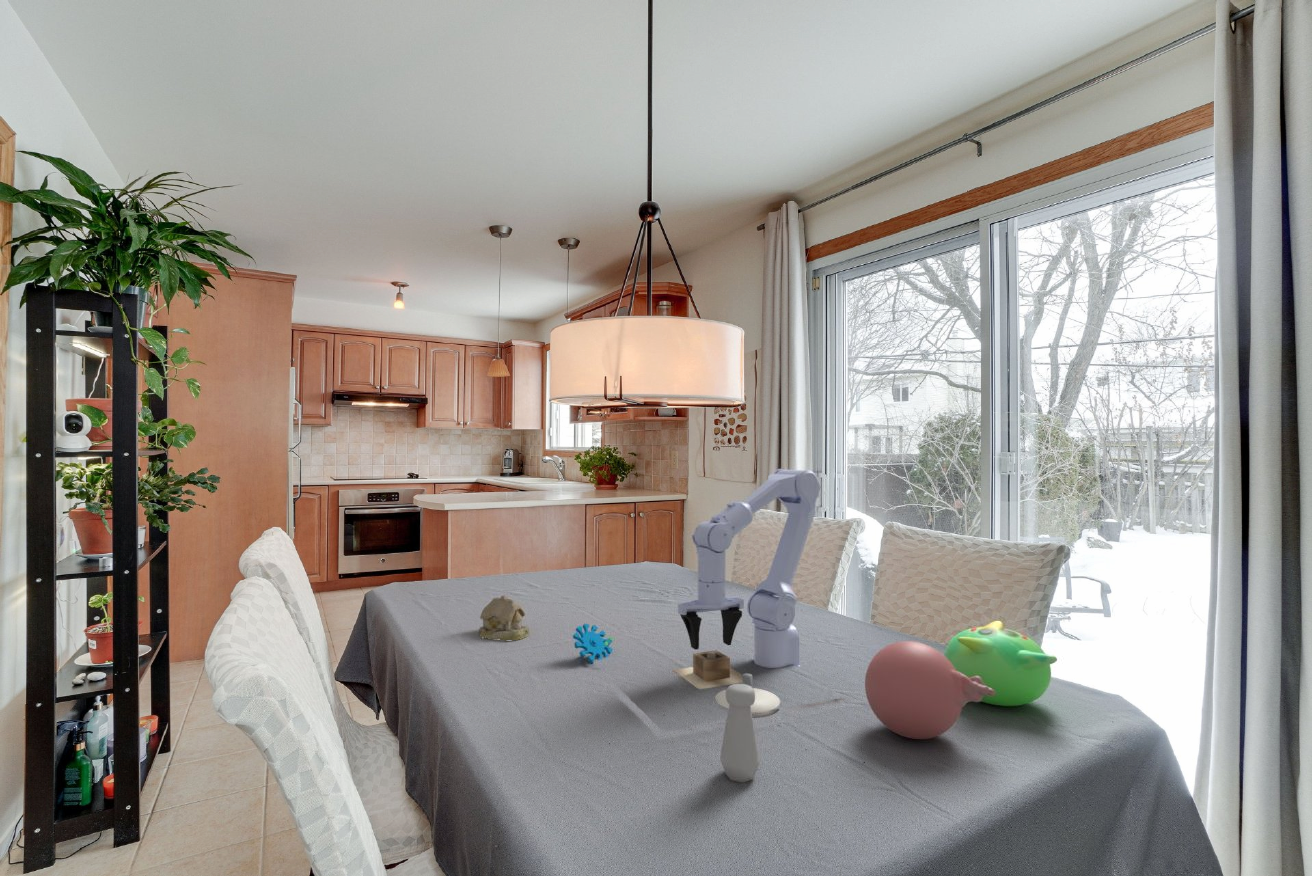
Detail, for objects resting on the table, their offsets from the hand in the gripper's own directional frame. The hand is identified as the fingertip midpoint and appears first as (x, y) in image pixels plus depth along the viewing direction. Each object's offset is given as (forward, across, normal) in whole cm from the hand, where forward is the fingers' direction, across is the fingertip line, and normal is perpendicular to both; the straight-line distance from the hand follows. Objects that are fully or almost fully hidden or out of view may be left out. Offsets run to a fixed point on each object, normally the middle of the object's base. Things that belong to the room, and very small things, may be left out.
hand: (711, 645), depth 135 cm
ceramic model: (+8, +33, -50) cm, 61 cm away
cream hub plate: (+7, 0, +14) cm, 16 cm away
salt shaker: (+7, +15, +36) cm, 40 cm away
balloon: (+7, -20, +38) cm, 44 cm away
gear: (+7, +18, -22) cm, 29 cm away
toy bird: (+7, -44, +32) cm, 55 cm away
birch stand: (+7, 0, 0) cm, 7 cm away
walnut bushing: (+6, 0, 0) cm, 6 cm away
